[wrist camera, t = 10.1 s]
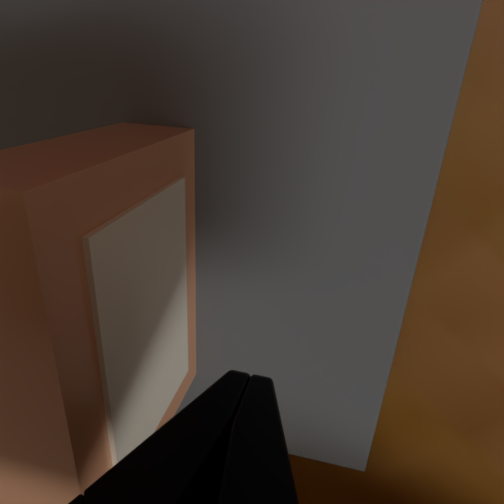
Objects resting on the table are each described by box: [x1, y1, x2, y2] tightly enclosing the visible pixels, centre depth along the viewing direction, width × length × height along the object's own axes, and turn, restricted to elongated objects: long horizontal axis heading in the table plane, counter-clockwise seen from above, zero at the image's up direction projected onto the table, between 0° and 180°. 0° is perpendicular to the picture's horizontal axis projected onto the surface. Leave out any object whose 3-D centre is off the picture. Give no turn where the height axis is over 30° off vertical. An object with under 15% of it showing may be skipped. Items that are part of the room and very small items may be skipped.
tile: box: [0, 122, 196, 504], centre depth 10 cm, size 8×2×6 cm, turn 177°
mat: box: [0, 0, 483, 472], centre depth 12 cm, size 15×16×1 cm
